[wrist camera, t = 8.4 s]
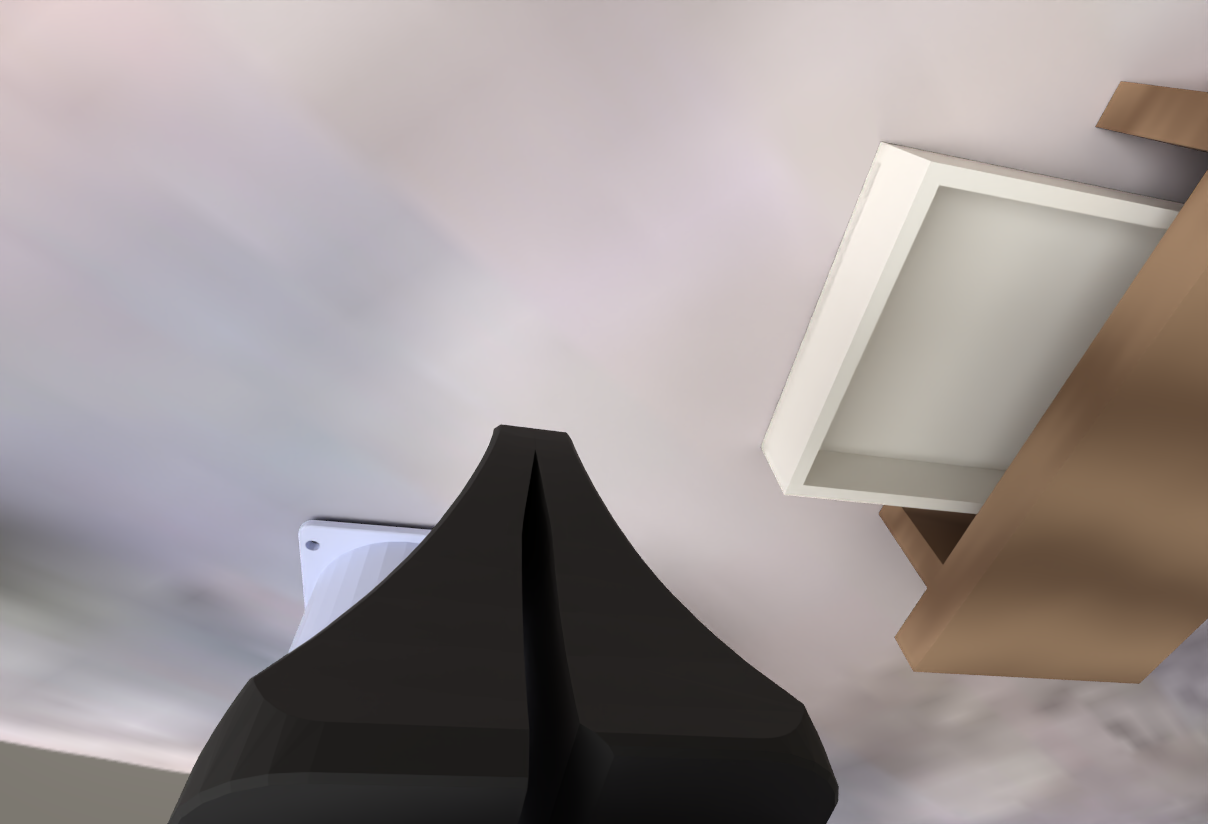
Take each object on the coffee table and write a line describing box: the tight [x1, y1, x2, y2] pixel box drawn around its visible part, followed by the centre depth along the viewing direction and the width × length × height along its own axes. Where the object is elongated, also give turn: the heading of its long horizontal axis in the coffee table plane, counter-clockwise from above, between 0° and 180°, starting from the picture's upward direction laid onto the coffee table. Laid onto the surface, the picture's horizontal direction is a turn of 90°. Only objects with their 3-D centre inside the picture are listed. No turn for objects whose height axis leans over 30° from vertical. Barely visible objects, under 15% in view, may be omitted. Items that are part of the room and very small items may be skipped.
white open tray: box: [761, 142, 1184, 514], centre depth 21 cm, size 11×15×3 cm
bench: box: [879, 81, 1208, 684], centre depth 21 cm, size 22×10×6 cm, turn 169°
